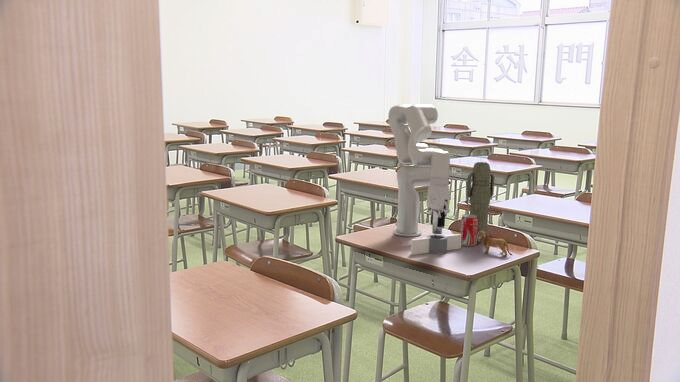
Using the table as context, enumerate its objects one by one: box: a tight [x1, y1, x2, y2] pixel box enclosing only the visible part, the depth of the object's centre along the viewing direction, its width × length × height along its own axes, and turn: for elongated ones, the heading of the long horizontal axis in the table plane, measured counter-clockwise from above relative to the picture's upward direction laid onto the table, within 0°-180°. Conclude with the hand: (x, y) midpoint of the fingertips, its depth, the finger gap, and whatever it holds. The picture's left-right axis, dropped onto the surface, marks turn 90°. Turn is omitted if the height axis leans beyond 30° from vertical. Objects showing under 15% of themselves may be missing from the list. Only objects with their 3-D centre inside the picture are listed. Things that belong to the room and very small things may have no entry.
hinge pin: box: [431, 209, 443, 235], centre depth 233 cm, size 4×4×10 cm
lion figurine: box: [477, 231, 513, 258], centre depth 231 cm, size 15×5×9 cm, turn 62°
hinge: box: [410, 233, 462, 256], centre depth 234 cm, size 8×24×6 cm, turn 116°
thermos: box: [466, 161, 495, 245], centre depth 249 cm, size 9×12×35 cm
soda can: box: [459, 213, 478, 248], centre depth 244 cm, size 7×7×13 cm
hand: (437, 225), depth 233 cm, fingers closed on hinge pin, 4 cm apart
